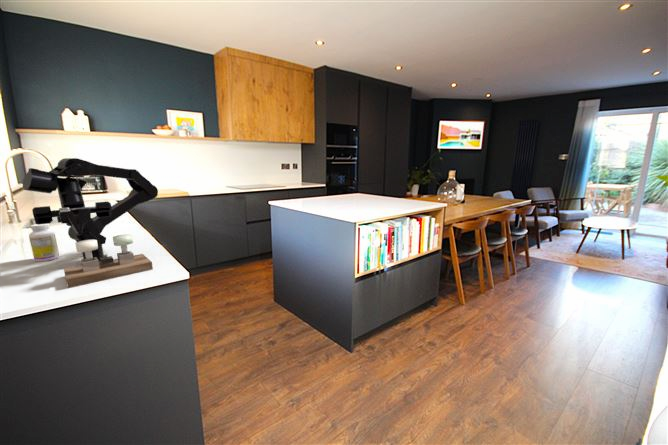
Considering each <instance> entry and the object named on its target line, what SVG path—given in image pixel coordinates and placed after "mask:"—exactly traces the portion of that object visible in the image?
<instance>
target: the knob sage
mask: <svg viewBox="0 0 668 445" xmlns="http://www.w3.org/2000/svg"><path fill="white" fill-rule="evenodd" d="M112 240H113V246H115V247H120V249H121V253H122V254H126V253H128V245H131V244H133V242H134V241H133V235H132V234H119V235H114V236H112Z"/></svg>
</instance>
